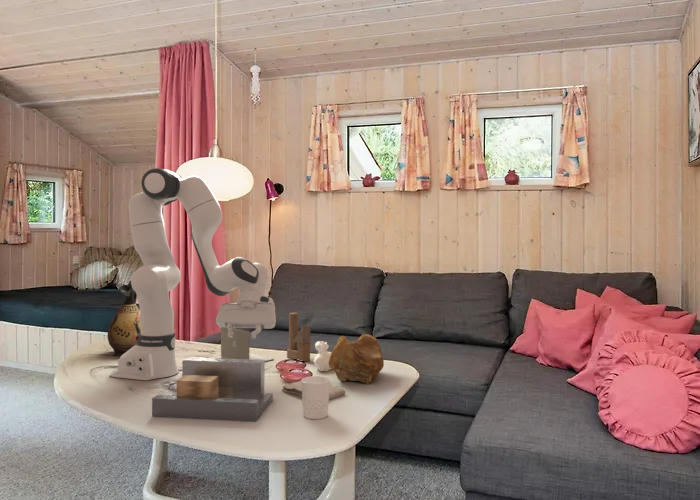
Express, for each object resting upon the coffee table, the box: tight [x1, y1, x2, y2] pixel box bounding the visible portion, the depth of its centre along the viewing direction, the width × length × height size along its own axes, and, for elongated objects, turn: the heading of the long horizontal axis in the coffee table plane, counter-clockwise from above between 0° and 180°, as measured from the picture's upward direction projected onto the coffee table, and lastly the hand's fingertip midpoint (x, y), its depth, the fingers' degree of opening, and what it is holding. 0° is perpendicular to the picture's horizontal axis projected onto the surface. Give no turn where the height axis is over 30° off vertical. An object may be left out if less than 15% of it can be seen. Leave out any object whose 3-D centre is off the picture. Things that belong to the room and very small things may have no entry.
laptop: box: [220, 327, 274, 363], centre depth 216 cm, size 18×12×13 cm
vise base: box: [151, 391, 274, 422], centre depth 158 cm, size 29×19×5 cm, turn 84°
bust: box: [312, 340, 333, 372], centre depth 203 cm, size 12×8×11 cm
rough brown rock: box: [329, 333, 385, 385], centre depth 189 cm, size 23×17×15 cm
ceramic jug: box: [106, 280, 141, 357], centre depth 223 cm, size 17×15×30 cm
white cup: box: [301, 375, 331, 420], centre depth 152 cm, size 8×8×10 cm
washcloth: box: [281, 379, 346, 401], centre depth 173 cm, size 12×18×3 cm, turn 52°
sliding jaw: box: [181, 356, 266, 401], centre depth 165 cm, size 24×4×12 cm, turn 84°
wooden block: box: [286, 312, 311, 363], centre depth 216 cm, size 4×11×18 cm, turn 42°
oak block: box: [176, 375, 218, 398], centre depth 156 cm, size 10×6×9 cm, turn 84°
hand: (241, 337), depth 182 cm, fingers open, 6 cm apart
